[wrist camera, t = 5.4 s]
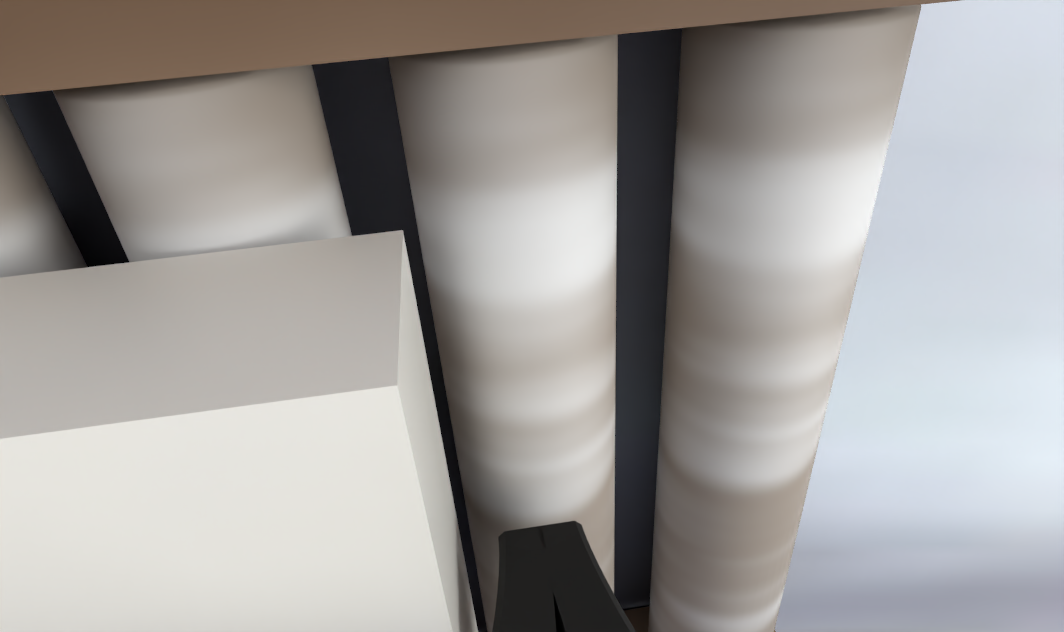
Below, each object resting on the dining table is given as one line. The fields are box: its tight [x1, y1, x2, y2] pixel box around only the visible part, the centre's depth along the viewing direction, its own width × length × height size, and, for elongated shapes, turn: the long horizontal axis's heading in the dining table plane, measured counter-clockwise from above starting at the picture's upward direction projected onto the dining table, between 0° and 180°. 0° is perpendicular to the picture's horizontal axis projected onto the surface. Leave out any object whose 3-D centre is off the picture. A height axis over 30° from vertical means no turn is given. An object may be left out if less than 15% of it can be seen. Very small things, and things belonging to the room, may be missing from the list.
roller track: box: [0, 0, 959, 632], centre depth 13 cm, size 18×24×3 cm
